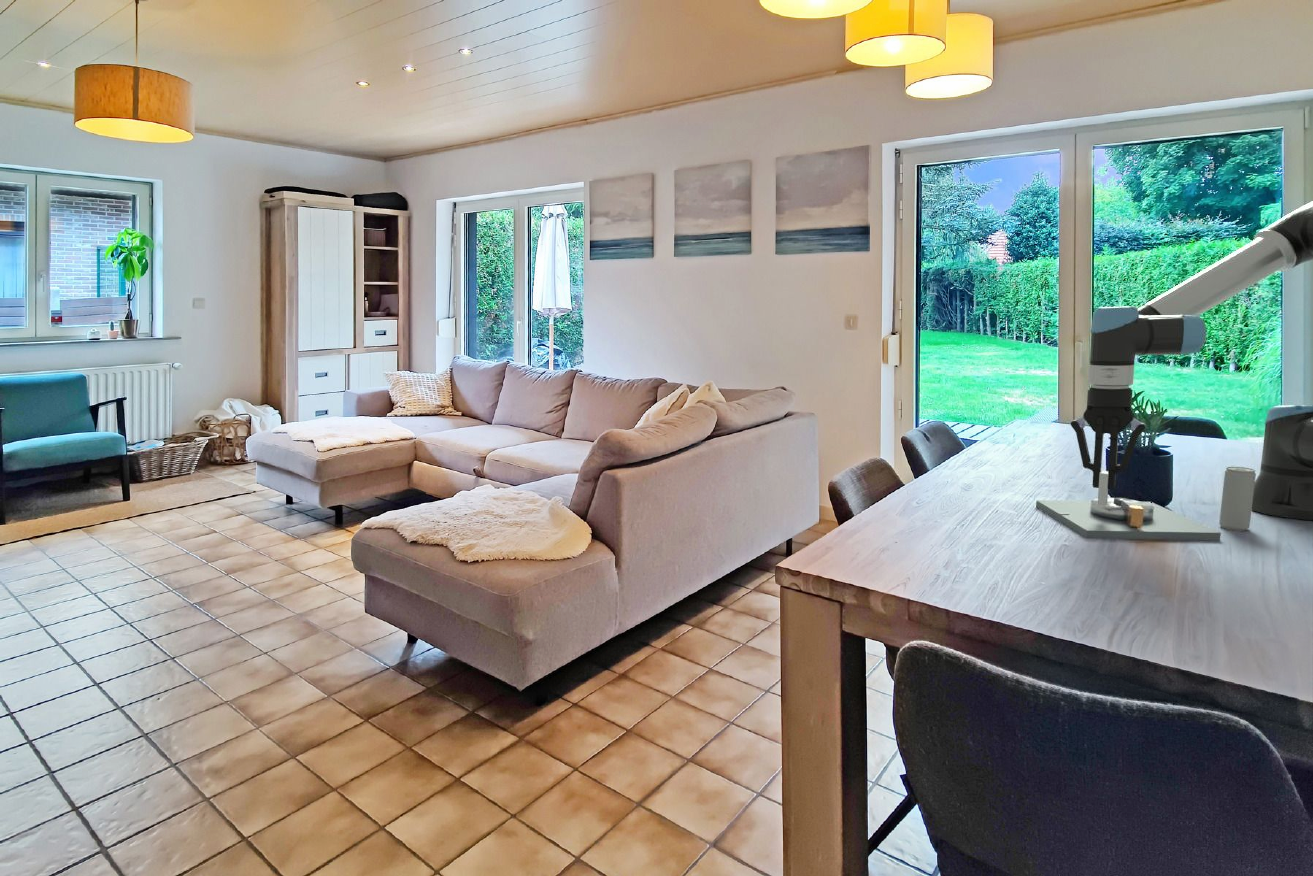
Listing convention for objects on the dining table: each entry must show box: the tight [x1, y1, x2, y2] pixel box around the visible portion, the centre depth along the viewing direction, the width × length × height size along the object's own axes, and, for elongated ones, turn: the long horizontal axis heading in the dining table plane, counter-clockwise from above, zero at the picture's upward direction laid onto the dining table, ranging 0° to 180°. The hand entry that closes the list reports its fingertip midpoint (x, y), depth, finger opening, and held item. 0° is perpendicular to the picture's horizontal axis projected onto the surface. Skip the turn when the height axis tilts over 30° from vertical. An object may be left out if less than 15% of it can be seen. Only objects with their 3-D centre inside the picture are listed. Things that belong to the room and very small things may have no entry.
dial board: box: [1035, 499, 1222, 541], centre depth 155 cm, size 24×24×2 cm
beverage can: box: [1218, 466, 1257, 532], centre depth 149 cm, size 5×5×12 cm
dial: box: [1090, 497, 1154, 527], centre depth 152 cm, size 16×11×4 cm
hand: (1102, 504), depth 151 cm, fingers closed
